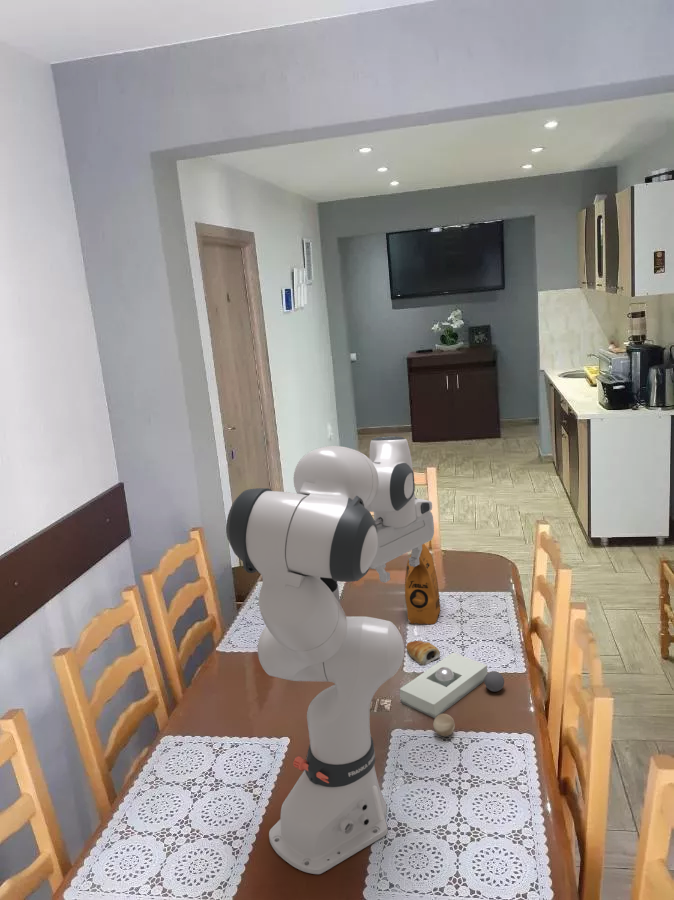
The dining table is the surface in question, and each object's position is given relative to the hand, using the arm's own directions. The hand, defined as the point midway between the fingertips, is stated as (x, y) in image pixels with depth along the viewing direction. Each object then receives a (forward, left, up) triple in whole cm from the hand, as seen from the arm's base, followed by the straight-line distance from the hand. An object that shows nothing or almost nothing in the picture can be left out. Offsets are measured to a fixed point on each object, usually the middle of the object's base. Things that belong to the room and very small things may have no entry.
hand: (400, 573), depth 153 cm
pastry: (+21, +14, -35) cm, 43 cm away
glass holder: (+18, +47, -34) cm, 61 cm away
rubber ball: (+19, -9, -32) cm, 38 cm away
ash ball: (-1, -10, -32) cm, 33 cm away
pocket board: (+12, 0, -34) cm, 36 cm away
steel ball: (+12, 0, -31) cm, 33 cm away
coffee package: (+38, +28, -34) cm, 58 cm away
